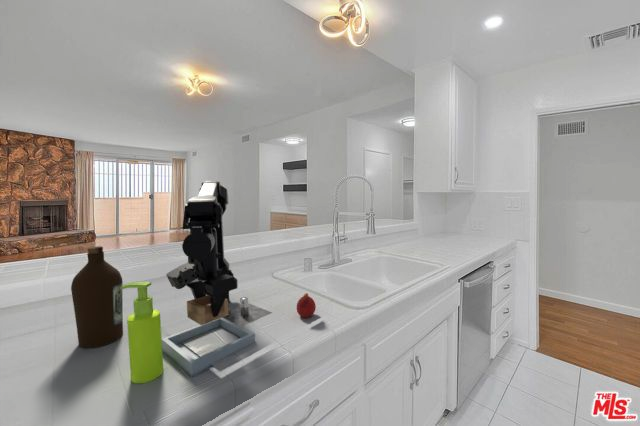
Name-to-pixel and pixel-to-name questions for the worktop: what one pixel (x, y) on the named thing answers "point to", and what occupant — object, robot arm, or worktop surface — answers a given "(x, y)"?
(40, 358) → the worktop surface
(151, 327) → the soap dispenser
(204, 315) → the open wooden box frame
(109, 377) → the worktop surface
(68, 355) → the worktop surface
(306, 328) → the worktop surface
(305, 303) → the onion
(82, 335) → the olive oil
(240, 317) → the stake base
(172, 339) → the light blue frame
